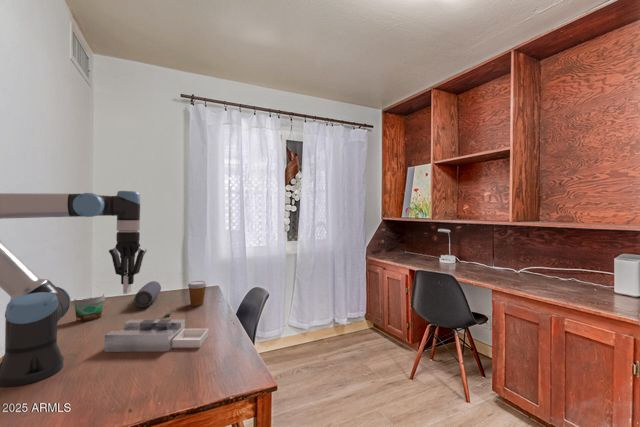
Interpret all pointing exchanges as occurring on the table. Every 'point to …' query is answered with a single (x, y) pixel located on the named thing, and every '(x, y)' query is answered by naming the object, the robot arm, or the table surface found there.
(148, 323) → the dark gray cube
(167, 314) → the tomahawk
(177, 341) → the tray
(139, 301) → the bluetooth speaker
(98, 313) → the food container
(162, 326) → the dark grey cube
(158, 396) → the table surface
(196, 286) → the disposable coffee cup
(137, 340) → the slot block
